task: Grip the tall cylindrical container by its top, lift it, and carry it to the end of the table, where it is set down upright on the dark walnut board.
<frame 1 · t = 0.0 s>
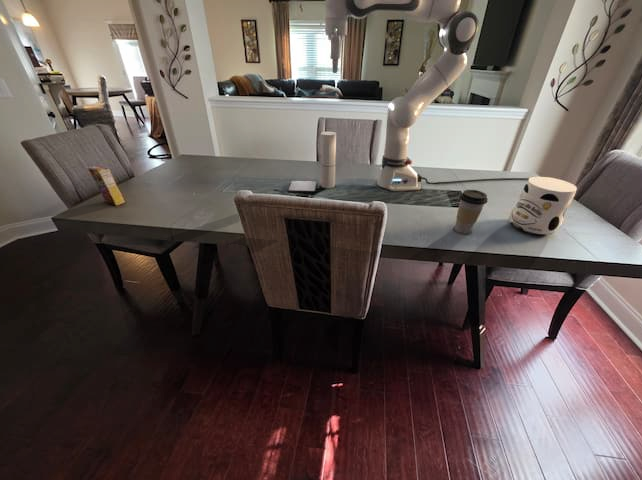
hand: (335, 72, 120), 48 cm above the table, tool pointing down, fingers open, 8 cm apart
coffee cup: (462, 230, 110), on the table
candy box: (115, 202, 127), on the table
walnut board: (302, 187, 143), on the table
milk container: (529, 228, 113), on the table
cylindrical container: (327, 186, 146), on the table
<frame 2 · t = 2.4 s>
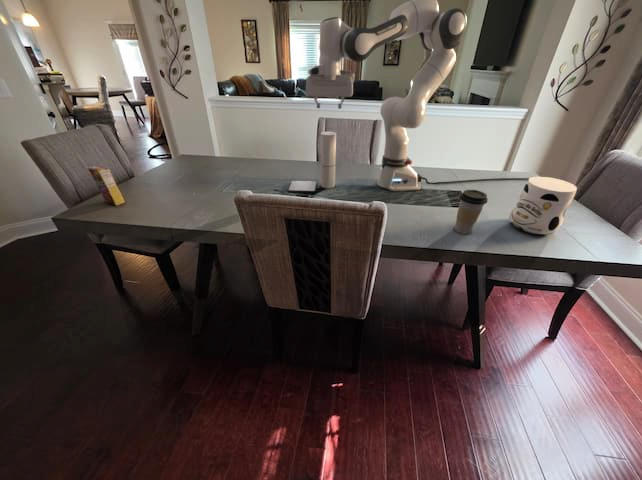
hand: (329, 108, 124), 35 cm above the table, tool pointing down, fingers open, 8 cm apart
nothing on the table moved.
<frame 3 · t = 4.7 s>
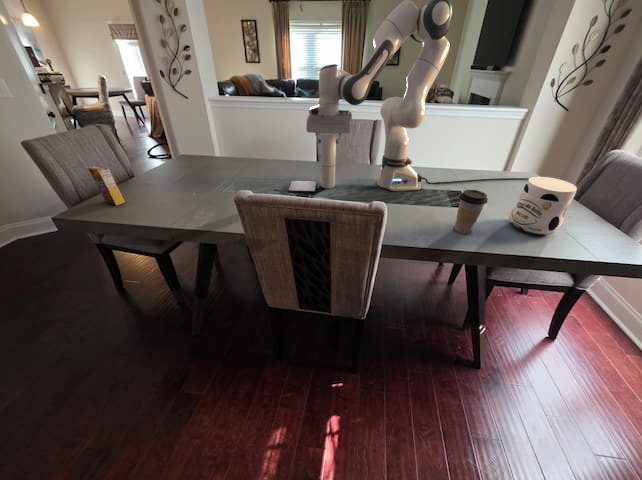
hand: (328, 143, 133), 21 cm above the table, tool pointing down, fingers closed on cylindrical container, 7 cm apart
cylindrical container: (327, 186, 146), on the table, touching gripper
everything else where it was.
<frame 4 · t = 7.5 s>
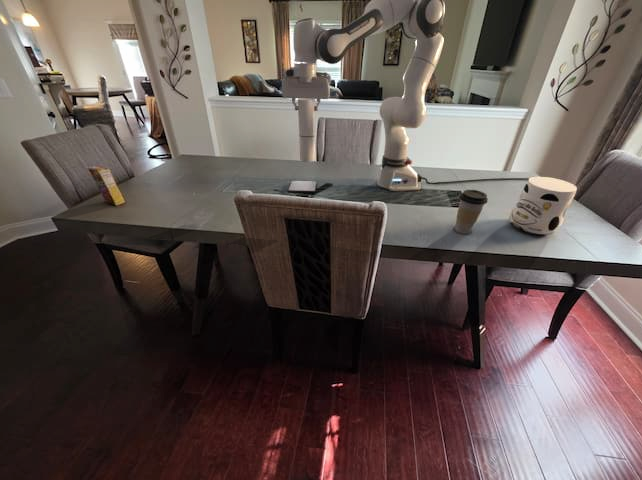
hand: (306, 110, 122), 35 cm above the table, tool pointing down, fingers closed on cylindrical container, 7 cm apart
cylindrical container: (307, 159, 135), point 14 cm above the table, touching gripper
everything else where it was.
when the fingers open (22 cm above the table, at t = 10.4 s): cylindrical container stays where it is, resting on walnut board.
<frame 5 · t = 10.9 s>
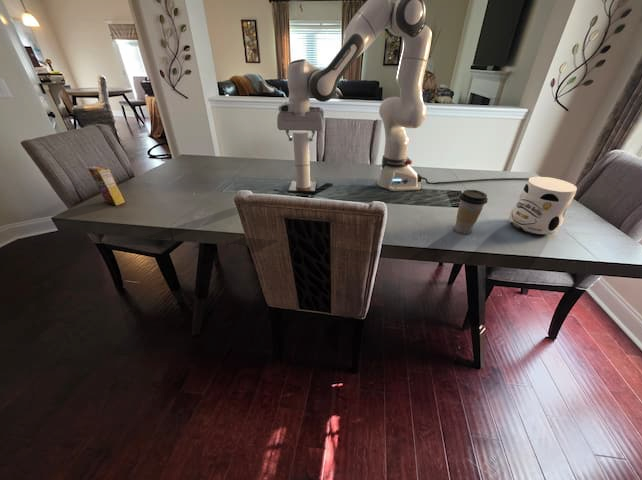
hand: (300, 141, 129), 22 cm above the table, tool pointing down, fingers open, 8 cm apart
cylindrical container: (303, 185, 142), point 1 cm above the table, touching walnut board
everything else where it was.
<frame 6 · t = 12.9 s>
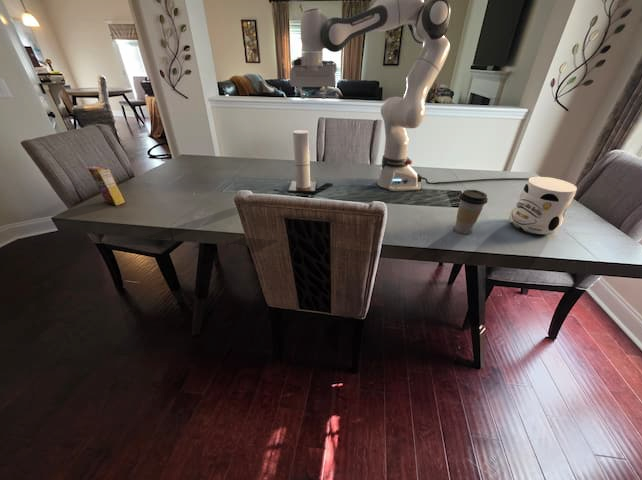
hand: (313, 98, 128), 38 cm above the table, tool pointing down, fingers open, 8 cm apart
nothing on the table moved.
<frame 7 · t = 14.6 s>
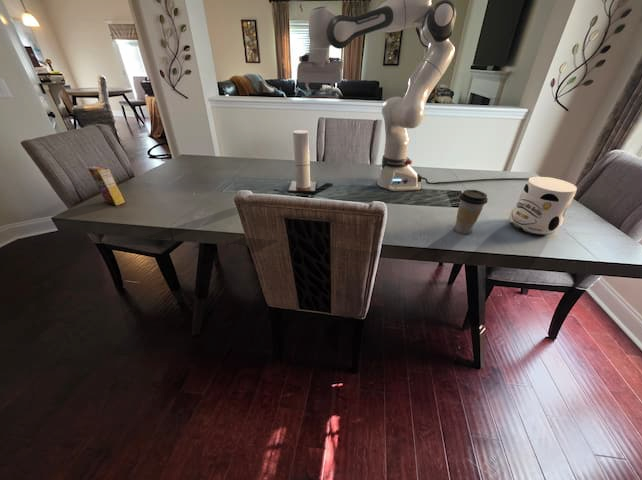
hand: (319, 94, 132), 39 cm above the table, tool pointing down, fingers open, 8 cm apart
nothing on the table moved.
at the end: cylindrical container inside the target area on the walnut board (0.2 cm from its centre), point 1.0 cm above the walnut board's base; cylindrical container tilted 0°; the gripper is holding nothing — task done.
